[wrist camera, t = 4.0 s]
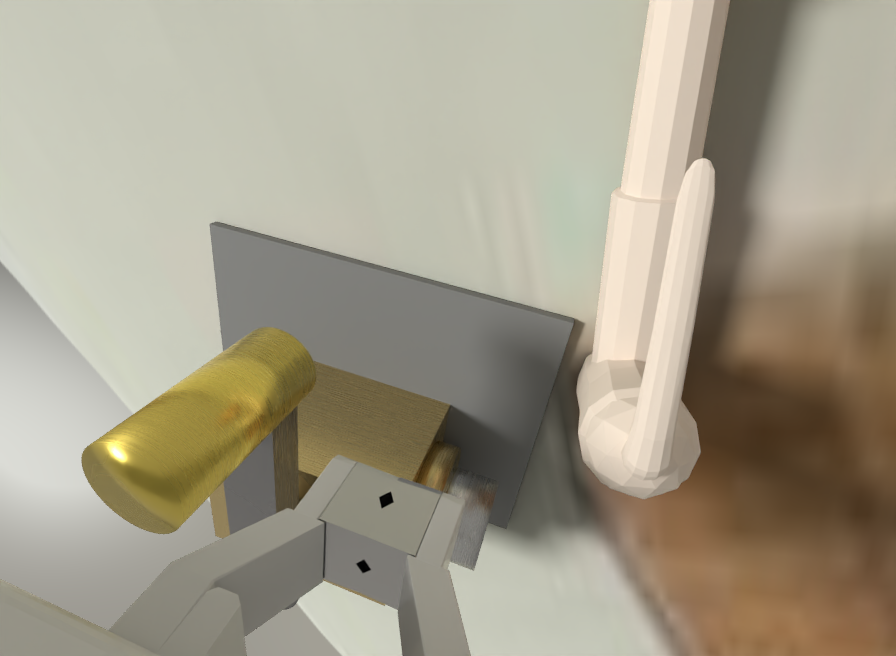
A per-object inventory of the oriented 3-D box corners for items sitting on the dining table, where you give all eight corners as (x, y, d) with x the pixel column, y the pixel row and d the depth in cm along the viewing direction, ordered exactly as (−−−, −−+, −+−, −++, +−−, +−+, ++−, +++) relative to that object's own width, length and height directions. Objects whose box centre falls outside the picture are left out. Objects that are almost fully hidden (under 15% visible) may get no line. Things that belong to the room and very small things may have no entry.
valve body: (515, 425, 21) (483, 538, 16) (488, 515, 24) (455, 635, 19) (238, 336, 23) (133, 408, 18) (246, 428, 26) (158, 511, 21)
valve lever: (329, 567, 19) (235, 729, 14) (259, 538, 19) (146, 685, 15) (339, 336, 13) (191, 475, 9) (240, 306, 14) (52, 420, 9)
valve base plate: (574, 318, 18) (573, 323, 18) (507, 522, 24) (506, 528, 24) (216, 221, 21) (209, 224, 21) (236, 424, 27) (231, 429, 27)
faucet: (748, -91, 15) (999, -660, 6) (673, 432, 18) (762, 617, 9) (616, -74, 16) (649, -531, 7) (564, 415, 19) (537, 563, 10)
